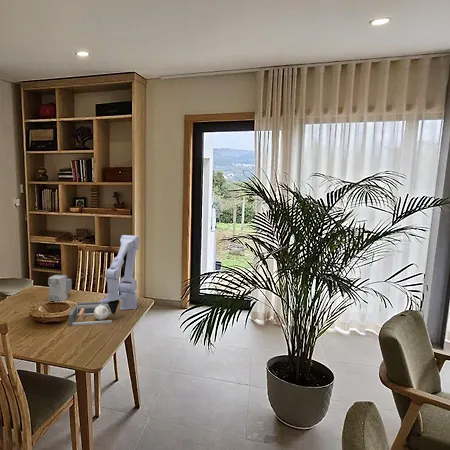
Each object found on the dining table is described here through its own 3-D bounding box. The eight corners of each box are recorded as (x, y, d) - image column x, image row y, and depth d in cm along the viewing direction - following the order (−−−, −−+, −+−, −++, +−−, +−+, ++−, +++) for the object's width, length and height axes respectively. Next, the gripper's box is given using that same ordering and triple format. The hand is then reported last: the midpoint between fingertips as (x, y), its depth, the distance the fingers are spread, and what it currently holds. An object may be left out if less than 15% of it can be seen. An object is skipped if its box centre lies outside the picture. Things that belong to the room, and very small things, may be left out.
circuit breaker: (73, 294, 211) (72, 272, 209) (60, 302, 197) (59, 279, 195) (62, 293, 212) (61, 271, 210) (48, 301, 198) (47, 278, 196)
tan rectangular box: (84, 316, 177) (84, 308, 177) (81, 323, 169) (81, 314, 169) (81, 316, 177) (81, 308, 176) (78, 323, 169) (78, 314, 168)
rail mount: (114, 310, 187) (114, 301, 186) (111, 322, 171) (111, 312, 170) (76, 313, 182) (75, 303, 181) (69, 325, 166) (68, 315, 165)
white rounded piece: (99, 323, 170) (99, 309, 169) (90, 319, 174) (90, 306, 173) (111, 318, 177) (111, 305, 176) (103, 315, 181) (102, 302, 180)
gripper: (120, 285, 183) (121, 307, 185) (96, 291, 172) (97, 315, 174) (127, 288, 178) (127, 311, 180) (103, 294, 167) (104, 318, 169)
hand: (113, 313), depth 177 cm, fingers closed
